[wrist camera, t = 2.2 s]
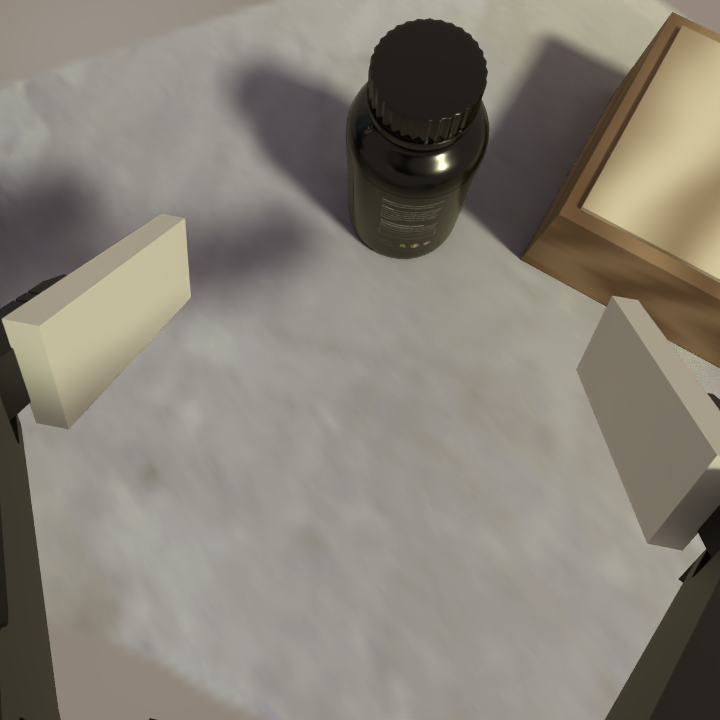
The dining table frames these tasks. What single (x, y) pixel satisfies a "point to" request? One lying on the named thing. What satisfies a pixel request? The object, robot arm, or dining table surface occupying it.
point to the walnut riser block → (649, 194)
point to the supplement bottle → (416, 137)
